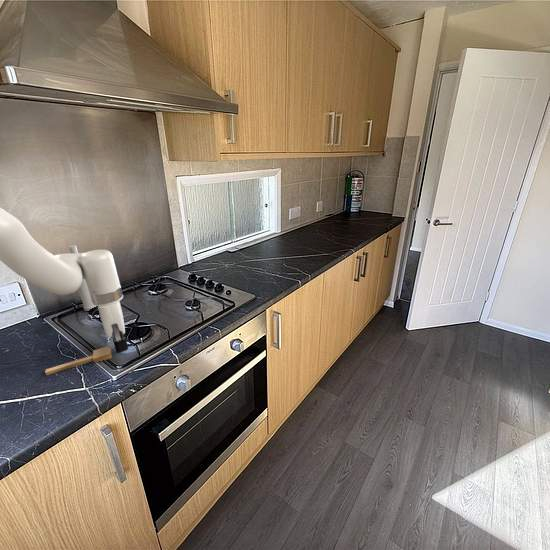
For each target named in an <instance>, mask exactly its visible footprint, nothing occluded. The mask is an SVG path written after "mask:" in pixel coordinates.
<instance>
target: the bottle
mask: <svg viewBox="0 0 550 550" xmlns="http://www.w3.org/2000/svg"><path fill="white" fill-rule="evenodd" d="M68 247H69V251H70V253H79V251H78V248H77V245H76V244H74V245H69V246H68ZM77 291H78V293H79V296H80V299H81V303H82V305H83V309H84V311H85V312H86V311H89V310H90V309H92V308H94V307H96V306H95V305H93V303H92V300H91V297H90V293H89V290H88V287H87V284H86V280H85V279H83V278H82V284H81V286H80V287H79V289H78V290H77Z"/></svg>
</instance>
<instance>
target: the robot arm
mask: <svg viewBox="0 0 550 550" xmlns="http://www.w3.org/2000/svg"><path fill="white" fill-rule="evenodd" d="M0 262H1V263H2V264H4V265H5V266H6V267H7V268H8V269H9V270H11V271H13V272H14V273H15V274H16V275H18V276H20V277H21V278H23V279H24V280H26V281H28V282H29V283H31V284H33V285H35V286H37V287H38V288H41V289H42V290H44V291H46V292H48V293H51V294H53V295H59V296H68V295H71V294H73V293H75V292H76V291H78V289H79V287H80V286H81V284H82V278H83V279H85V280H86V284H87V287H88V290H89V293H90V297H91V300H92V303H93V305H95V306H98V309H97V310H98V313H99V318H100V320H101V324H102V327H103V332H104V335H105V338H106V339H107V340H109V339H111V338H112V342H113V345H114V349H115V352H116V353H121V352H124V351H128V350H129V345H128V341H127V337H126V335H125V334H126V328H125V327H126V325H125V320H124V319H125V318H124V315H123V310H122V306H121V302H120V301H122V300H123V298H124V294H123V290H122V286H121V282H120V278H119V276H118V270H117V266H116V263H115V259H114V256H113V253H112V252H111V251H110V250H108V249H92V250H89V251H86V252H78V253H71V252H70V253H59V254H55V255H54V254H53V253H51V252H50V251H48V250H47V249H45V248H44V247H43V246H42V245H41V244H39V242H37V241H36V239H34V237H32V235H31V234H30V233H29V231H28V230H27V228H26V227H25V225H24V224H23V223H22V222H21V221H20V220H19V219H18V218H17V216H14V215H13V214H11V213H10V212H8V211H6V210H5V209H4V208H2V207H0Z"/></svg>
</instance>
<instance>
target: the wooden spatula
mask: <svg viewBox="0 0 550 550" xmlns="http://www.w3.org/2000/svg"><path fill="white" fill-rule="evenodd" d="M112 358H113V356H112V348H111V346H110V345H107V346H105V347H101V348H98V349H94V350H92V355H89V356H86V357H85V356H84V357H82V358H80V359H76V360H73V361H69V362H66V363H63V364H59V365H56V366H53V367H48V368H46V369H45V371H44V374H45V376H50V375H52V374H57V373H59V372H63V371H66V370H68V369H73V368H75V367H79V366H81V365H85V364H88V363H92V362H93V363H94V364H97V362H98V363H100V362H99V361H101V362H104V361H106V360H107V361H108V360H111V359H112ZM103 360H104V361H103Z"/></svg>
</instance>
